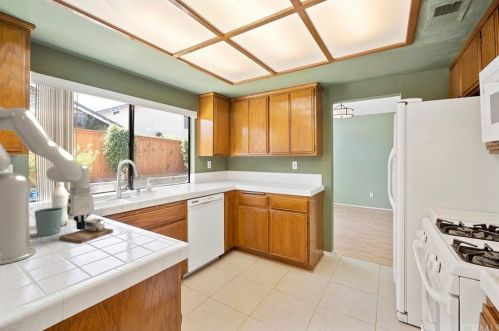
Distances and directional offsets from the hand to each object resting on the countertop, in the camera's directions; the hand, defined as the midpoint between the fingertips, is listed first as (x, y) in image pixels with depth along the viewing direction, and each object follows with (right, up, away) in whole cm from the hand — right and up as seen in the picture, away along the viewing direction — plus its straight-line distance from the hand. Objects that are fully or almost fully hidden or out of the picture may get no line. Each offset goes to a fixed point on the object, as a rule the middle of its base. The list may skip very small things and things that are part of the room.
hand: (80, 229), depth 108 cm
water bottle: (-23, -3, +16) cm, 28 cm away
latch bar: (+5, -1, +2) cm, 5 cm away
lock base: (+4, -3, -1) cm, 5 cm away
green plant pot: (-17, -3, +3) cm, 18 cm away
